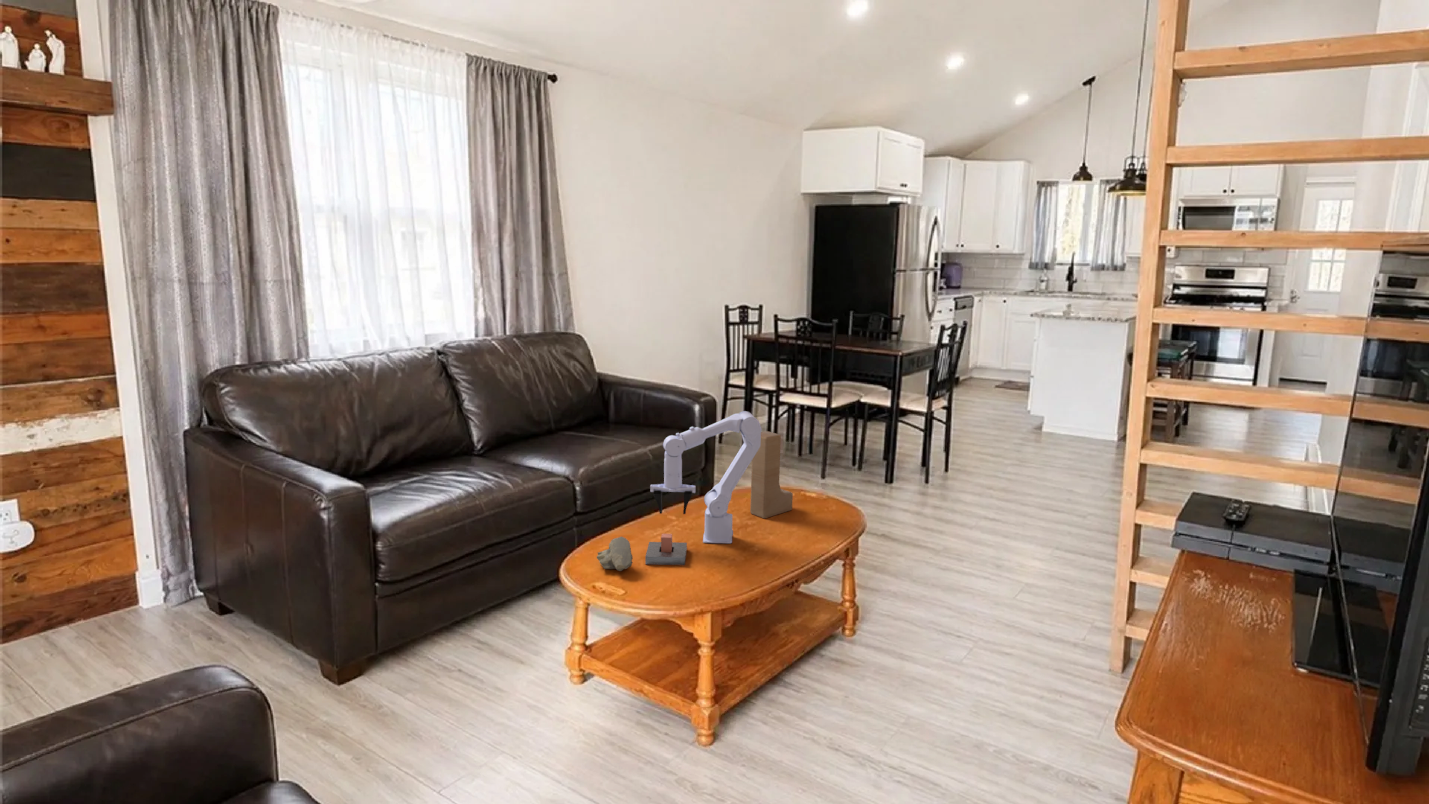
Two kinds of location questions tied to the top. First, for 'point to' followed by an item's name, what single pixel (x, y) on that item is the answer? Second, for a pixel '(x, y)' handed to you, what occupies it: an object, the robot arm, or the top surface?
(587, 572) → the top surface
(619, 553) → the fossil
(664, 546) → the reddish brown rectangular block
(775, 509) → the decorative block
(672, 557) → the gray slotted base
